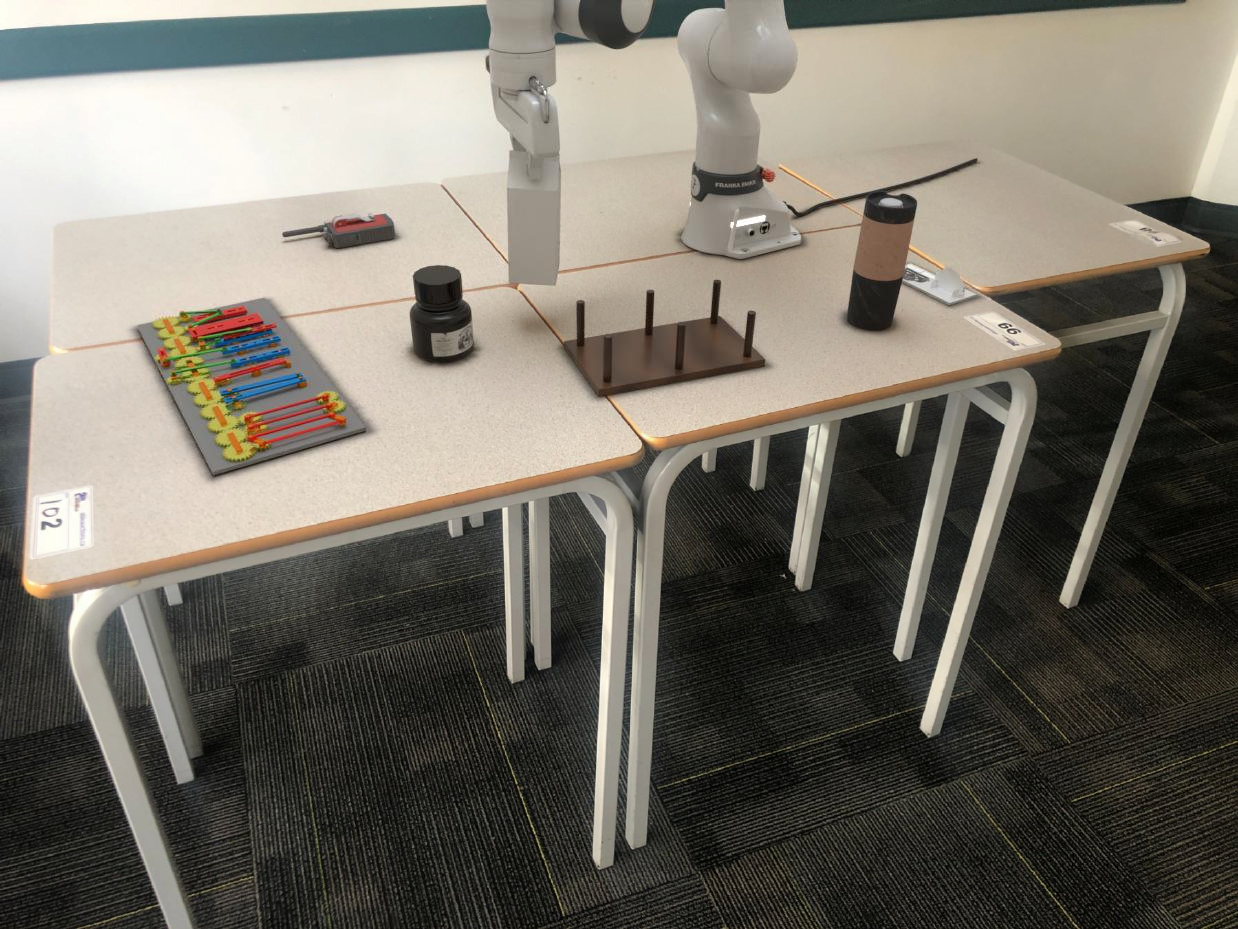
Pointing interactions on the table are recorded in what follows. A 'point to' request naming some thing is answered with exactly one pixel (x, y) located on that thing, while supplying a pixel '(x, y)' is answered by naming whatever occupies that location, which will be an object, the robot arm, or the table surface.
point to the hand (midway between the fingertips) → (527, 170)
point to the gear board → (246, 384)
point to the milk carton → (533, 221)
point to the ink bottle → (440, 315)
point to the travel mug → (880, 259)
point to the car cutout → (938, 284)
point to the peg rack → (662, 350)
